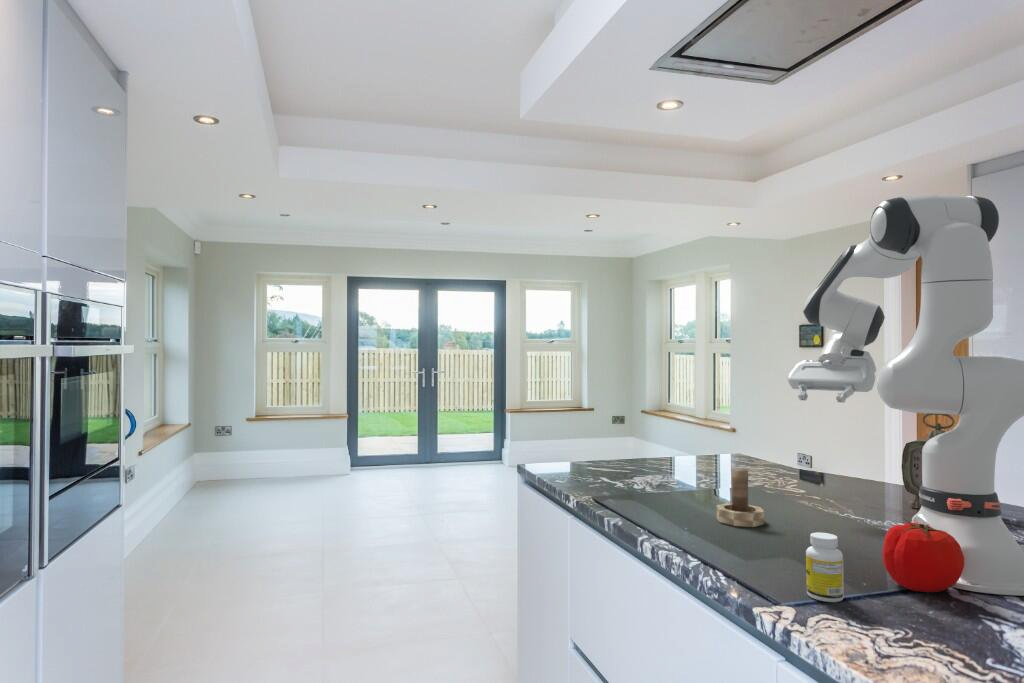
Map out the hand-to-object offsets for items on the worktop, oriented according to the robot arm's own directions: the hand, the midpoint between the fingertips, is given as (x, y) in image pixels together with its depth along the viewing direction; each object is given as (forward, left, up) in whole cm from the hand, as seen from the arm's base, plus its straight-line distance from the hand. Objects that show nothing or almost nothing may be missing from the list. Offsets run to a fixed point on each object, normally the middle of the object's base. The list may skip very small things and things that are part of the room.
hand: (820, 399), depth 157 cm
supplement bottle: (-59, +15, -28) cm, 67 cm away
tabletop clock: (+11, -31, -28) cm, 43 cm away
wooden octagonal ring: (-12, +21, -28) cm, 37 cm away
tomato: (-52, -2, -28) cm, 59 cm away
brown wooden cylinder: (-12, +21, -28) cm, 37 cm away
